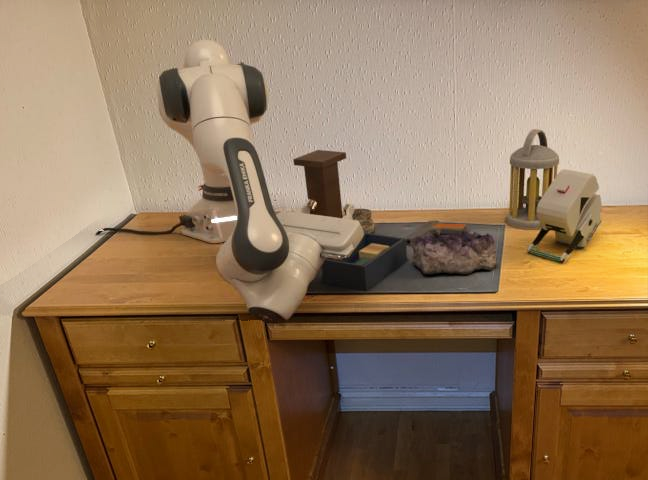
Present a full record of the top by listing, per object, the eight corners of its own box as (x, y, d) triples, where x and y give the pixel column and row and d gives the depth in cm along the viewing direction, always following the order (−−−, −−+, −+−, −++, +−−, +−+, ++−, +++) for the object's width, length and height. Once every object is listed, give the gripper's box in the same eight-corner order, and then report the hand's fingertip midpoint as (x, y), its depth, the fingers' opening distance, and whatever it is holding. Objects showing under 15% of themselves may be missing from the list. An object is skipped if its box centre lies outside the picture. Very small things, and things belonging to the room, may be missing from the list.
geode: (490, 256, 164) (494, 219, 157) (499, 279, 154) (503, 241, 148) (409, 258, 161) (409, 220, 155) (413, 282, 152) (414, 243, 146)
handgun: (447, 249, 168) (405, 244, 172) (468, 230, 180) (428, 225, 185) (447, 243, 167) (404, 238, 171) (468, 223, 180) (427, 219, 184)
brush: (357, 282, 149) (356, 267, 148) (339, 278, 151) (337, 264, 150) (390, 259, 161) (389, 245, 159) (372, 256, 163) (371, 243, 161)
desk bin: (323, 282, 151) (320, 259, 148) (366, 254, 167) (365, 232, 164) (366, 290, 147) (364, 266, 144) (407, 260, 162) (406, 238, 159)
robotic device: (538, 274, 171) (514, 225, 156) (578, 212, 176) (559, 158, 161) (572, 285, 165) (551, 234, 150) (613, 220, 170) (597, 165, 154)
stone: (371, 236, 168) (345, 205, 167) (345, 260, 173) (320, 230, 171) (389, 224, 180) (365, 195, 178) (365, 247, 184) (341, 219, 183)
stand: (306, 261, 163) (293, 159, 151) (328, 247, 171) (317, 149, 159) (333, 265, 160) (322, 162, 148) (354, 252, 168) (345, 152, 156)
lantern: (521, 210, 194) (525, 122, 182) (565, 218, 187) (572, 127, 175) (496, 223, 185) (499, 131, 172) (541, 232, 177) (547, 137, 165)
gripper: (340, 250, 125) (369, 198, 131) (255, 237, 133) (286, 188, 139) (351, 271, 130) (379, 220, 136) (269, 257, 138) (298, 209, 144)
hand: (331, 203), depth 138 cm, fingers open, 8 cm apart
